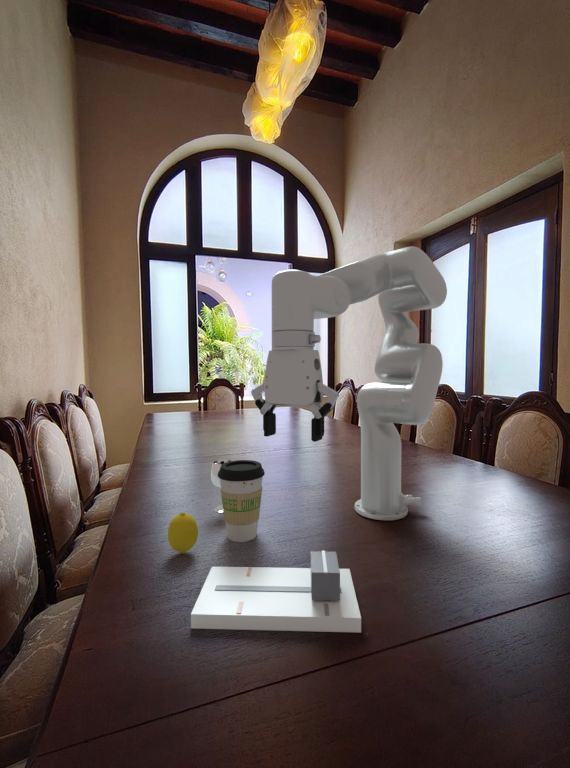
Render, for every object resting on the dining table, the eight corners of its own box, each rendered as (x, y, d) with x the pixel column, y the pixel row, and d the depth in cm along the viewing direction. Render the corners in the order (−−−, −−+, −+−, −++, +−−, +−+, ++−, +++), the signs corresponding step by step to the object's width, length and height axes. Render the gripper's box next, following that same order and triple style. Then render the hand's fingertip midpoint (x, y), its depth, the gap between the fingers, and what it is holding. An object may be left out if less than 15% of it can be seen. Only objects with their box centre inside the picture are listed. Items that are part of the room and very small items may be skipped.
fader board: (349, 580, 61) (349, 568, 61) (361, 632, 49) (361, 617, 49) (212, 578, 62) (212, 565, 62) (191, 628, 50) (190, 613, 50)
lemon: (186, 543, 75) (186, 504, 74) (204, 552, 71) (203, 511, 71) (162, 554, 70) (161, 513, 70) (179, 564, 67) (178, 521, 66)
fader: (335, 576, 58) (335, 550, 58) (340, 600, 52) (340, 572, 52) (310, 575, 59) (310, 550, 58) (311, 600, 52) (311, 571, 52)
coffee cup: (220, 549, 72) (219, 473, 71) (216, 528, 82) (215, 461, 81) (269, 542, 75) (269, 469, 74) (260, 522, 84) (259, 457, 84)
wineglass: (230, 514, 89) (229, 465, 89) (207, 512, 90) (206, 464, 90) (237, 505, 95) (237, 459, 94) (216, 504, 96) (216, 458, 95)
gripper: (346, 342, 65) (345, 438, 66) (263, 345, 74) (263, 430, 74) (329, 339, 59) (328, 446, 59) (240, 343, 67) (241, 436, 68)
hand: (292, 437), depth 67 cm, fingers open, 9 cm apart
